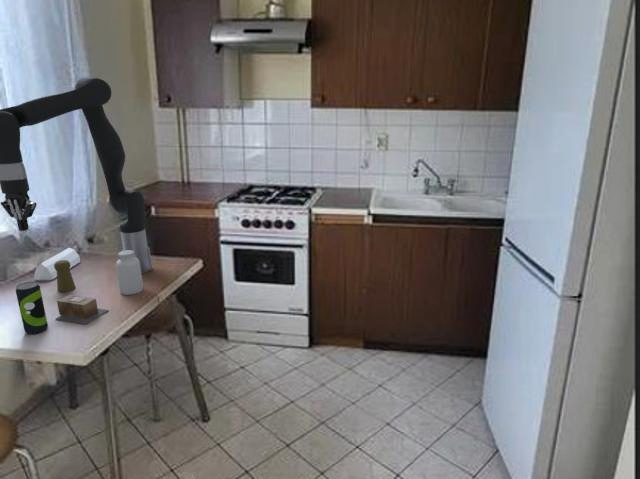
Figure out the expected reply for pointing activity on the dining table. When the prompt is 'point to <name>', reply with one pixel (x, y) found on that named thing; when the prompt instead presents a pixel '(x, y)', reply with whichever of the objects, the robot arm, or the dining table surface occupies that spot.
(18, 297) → the beverage can
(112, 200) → the robot arm
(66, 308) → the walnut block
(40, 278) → the crystal
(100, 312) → the rubber mat
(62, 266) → the cork
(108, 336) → the dining table surface
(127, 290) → the pill bottle
